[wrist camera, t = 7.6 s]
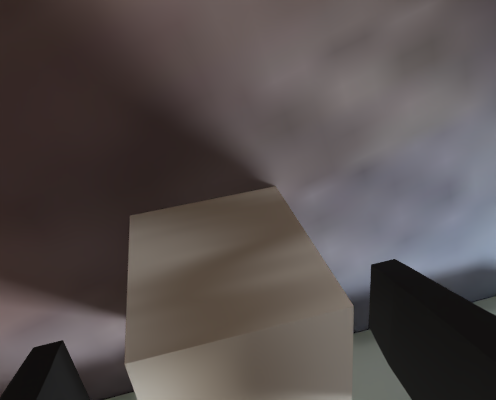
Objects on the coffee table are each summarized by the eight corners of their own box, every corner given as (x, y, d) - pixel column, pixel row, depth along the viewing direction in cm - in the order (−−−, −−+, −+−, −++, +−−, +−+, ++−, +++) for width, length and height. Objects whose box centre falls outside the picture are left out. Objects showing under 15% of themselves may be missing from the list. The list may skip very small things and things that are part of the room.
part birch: (275, 185, 12) (353, 305, 7) (284, 294, 14) (351, 440, 9) (130, 215, 11) (124, 364, 7) (160, 324, 13) (171, 494, 9)
